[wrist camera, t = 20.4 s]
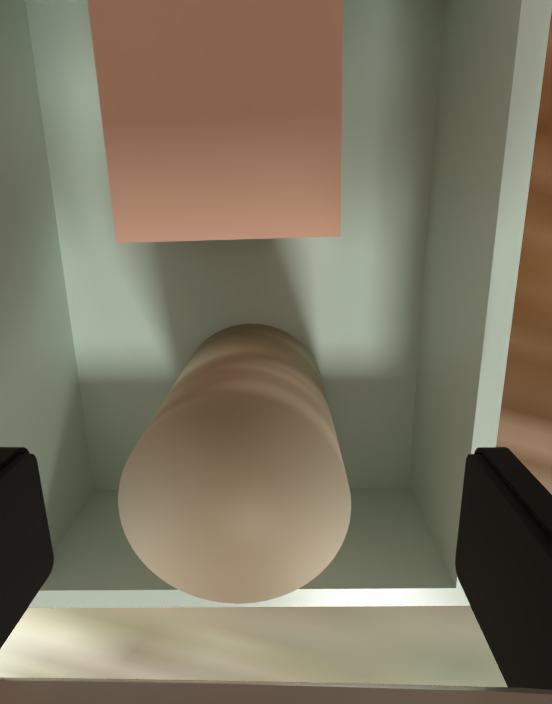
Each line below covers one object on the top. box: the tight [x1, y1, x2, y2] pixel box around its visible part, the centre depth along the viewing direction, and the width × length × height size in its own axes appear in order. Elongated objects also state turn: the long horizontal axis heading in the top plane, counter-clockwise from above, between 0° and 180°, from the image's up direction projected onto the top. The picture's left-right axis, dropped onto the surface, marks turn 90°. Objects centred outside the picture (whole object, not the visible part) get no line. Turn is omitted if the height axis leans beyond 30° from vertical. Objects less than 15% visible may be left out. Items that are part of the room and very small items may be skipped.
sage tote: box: [0, 0, 552, 608], centre depth 14 cm, size 13×17×6 cm
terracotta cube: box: [87, 0, 343, 243], centre depth 12 cm, size 5×5×5 cm
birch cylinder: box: [118, 324, 351, 604], centre depth 13 cm, size 5×5×7 cm
